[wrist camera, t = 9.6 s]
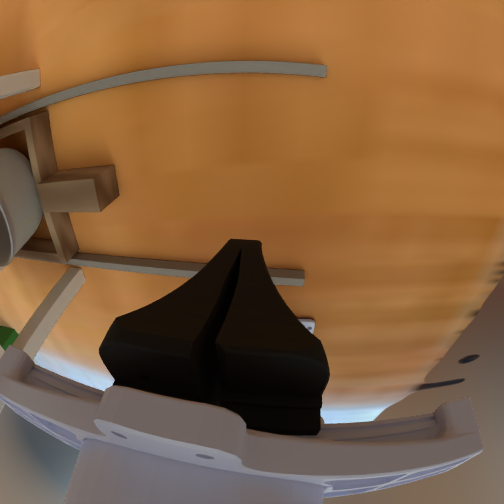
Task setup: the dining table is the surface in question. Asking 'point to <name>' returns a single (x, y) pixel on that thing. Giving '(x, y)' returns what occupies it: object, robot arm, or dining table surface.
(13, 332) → the hardback book
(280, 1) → the dining table surface
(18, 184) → the teacup
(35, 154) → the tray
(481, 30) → the dining table surface
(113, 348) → the robot arm
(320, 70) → the shelf
